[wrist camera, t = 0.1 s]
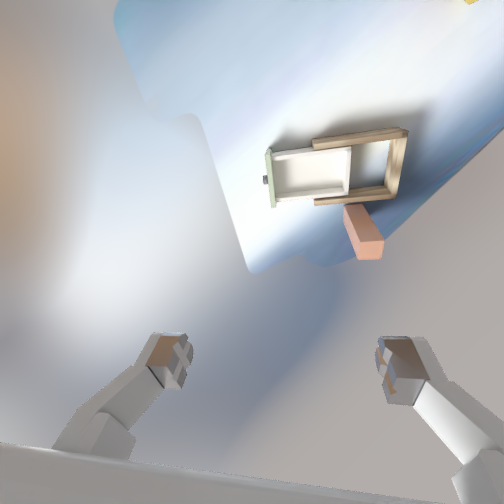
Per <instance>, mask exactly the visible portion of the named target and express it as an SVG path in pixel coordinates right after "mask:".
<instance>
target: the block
mask: <svg viewBox="0 0 504 504" xmlns="http://www.w3.org/2000/svg"><path fill="white" fill-rule="evenodd" d="M343 222H344V224H345V227H346V230H347V232H348V235H349V237H350V240H351V242H352V245H353V248H354V250H355V253H356V255H357V258H358V260H366V259H381V256H382V251H383V245H384V239H383V237H382V236H381V234H380V232H379V231H378V229H377V227H376V226H375V224H374V222H373V221H372V219H371V217H370V216H369V214H368V212H367V211H366V209H365V207H364V206H363V204H351V205H344V211H343Z"/></svg>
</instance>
